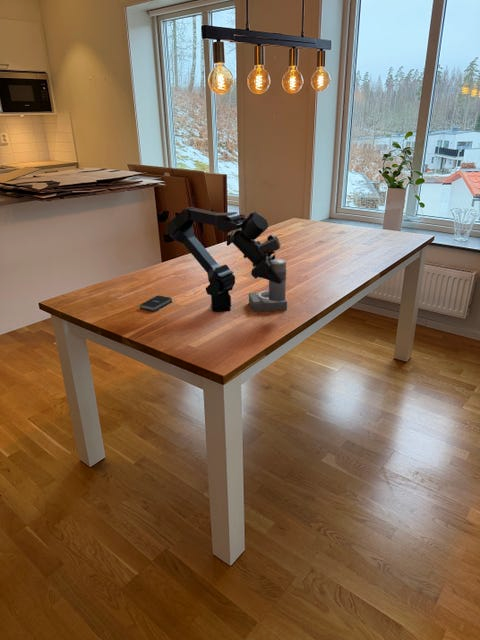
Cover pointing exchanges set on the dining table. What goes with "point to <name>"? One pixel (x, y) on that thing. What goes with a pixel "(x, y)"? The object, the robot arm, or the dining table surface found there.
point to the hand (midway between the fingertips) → (281, 279)
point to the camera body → (265, 302)
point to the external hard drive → (156, 303)
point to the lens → (275, 289)
